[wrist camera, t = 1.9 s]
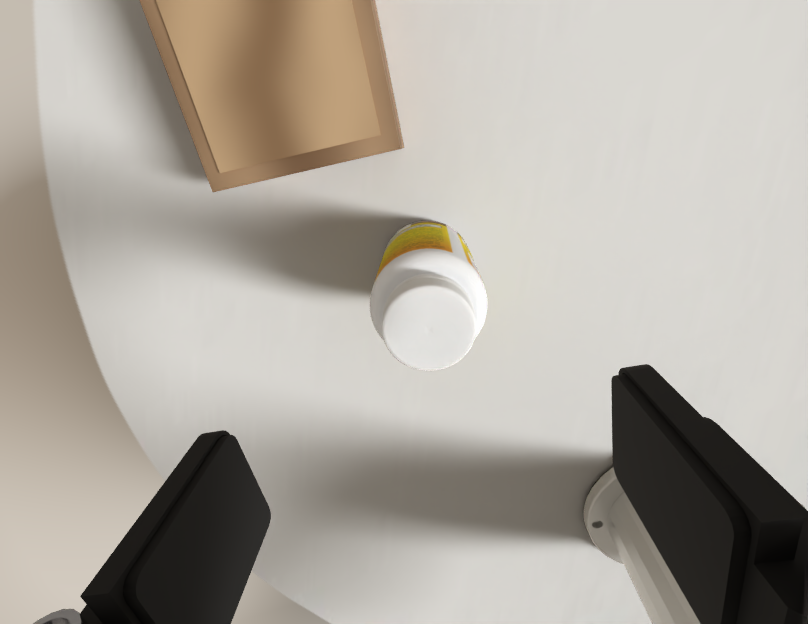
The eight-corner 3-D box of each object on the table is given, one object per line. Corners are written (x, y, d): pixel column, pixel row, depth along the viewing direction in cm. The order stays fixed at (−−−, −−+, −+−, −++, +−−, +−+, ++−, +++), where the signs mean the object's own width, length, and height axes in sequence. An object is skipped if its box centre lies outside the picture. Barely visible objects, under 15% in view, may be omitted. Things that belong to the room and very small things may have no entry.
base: (361, -69, 20) (345, -121, 16) (404, 147, 23) (400, 148, 19) (175, -13, 21) (119, -47, 17) (244, 184, 25) (211, 192, 21)
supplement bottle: (367, 269, 26) (335, 339, 17) (419, 200, 24) (416, 236, 15) (433, 317, 27) (438, 408, 18) (488, 254, 26) (525, 320, 16)
